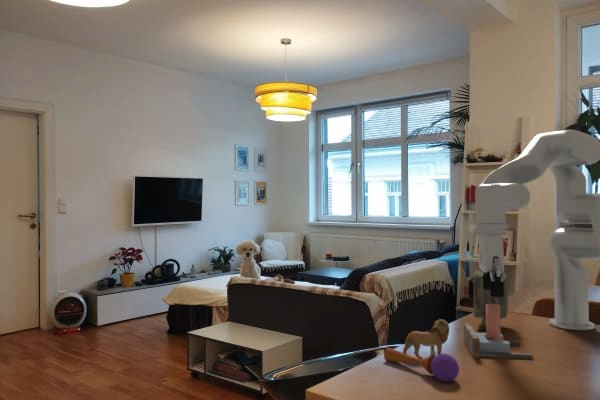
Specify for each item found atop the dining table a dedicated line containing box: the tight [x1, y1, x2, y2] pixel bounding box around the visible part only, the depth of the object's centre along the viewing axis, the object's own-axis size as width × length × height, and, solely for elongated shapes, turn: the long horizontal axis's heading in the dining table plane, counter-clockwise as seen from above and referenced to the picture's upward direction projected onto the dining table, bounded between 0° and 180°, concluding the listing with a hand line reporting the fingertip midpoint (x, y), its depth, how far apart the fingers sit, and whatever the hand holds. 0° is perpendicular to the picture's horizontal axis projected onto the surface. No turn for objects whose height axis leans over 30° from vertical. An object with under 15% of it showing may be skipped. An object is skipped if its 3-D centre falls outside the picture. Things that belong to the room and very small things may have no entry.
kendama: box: [383, 347, 460, 383], centre depth 111 cm, size 6×6×20 cm
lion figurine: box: [402, 318, 450, 360], centre depth 122 cm, size 15×5×9 cm, turn 114°
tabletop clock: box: [472, 269, 509, 331], centre depth 150 cm, size 14×9×25 cm, turn 153°
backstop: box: [463, 322, 534, 360], centre depth 127 cm, size 16×14×5 cm
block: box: [475, 331, 511, 353], centre depth 127 cm, size 10×8×3 cm
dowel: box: [485, 304, 501, 341], centre depth 127 cm, size 4×4×12 cm
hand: (493, 292), depth 128 cm, fingers open, 9 cm apart
